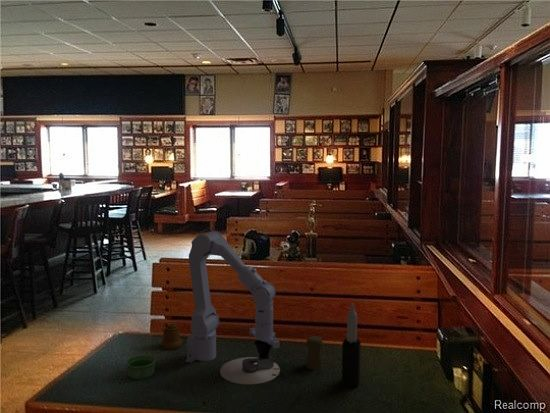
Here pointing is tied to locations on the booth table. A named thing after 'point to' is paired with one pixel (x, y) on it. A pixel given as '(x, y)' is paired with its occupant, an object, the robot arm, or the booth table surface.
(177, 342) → the ornamental finial
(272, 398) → the booth table surface
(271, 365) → the dial pointer
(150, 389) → the booth table surface
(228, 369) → the dial plate
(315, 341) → the cork
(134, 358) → the ramekin
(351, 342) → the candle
